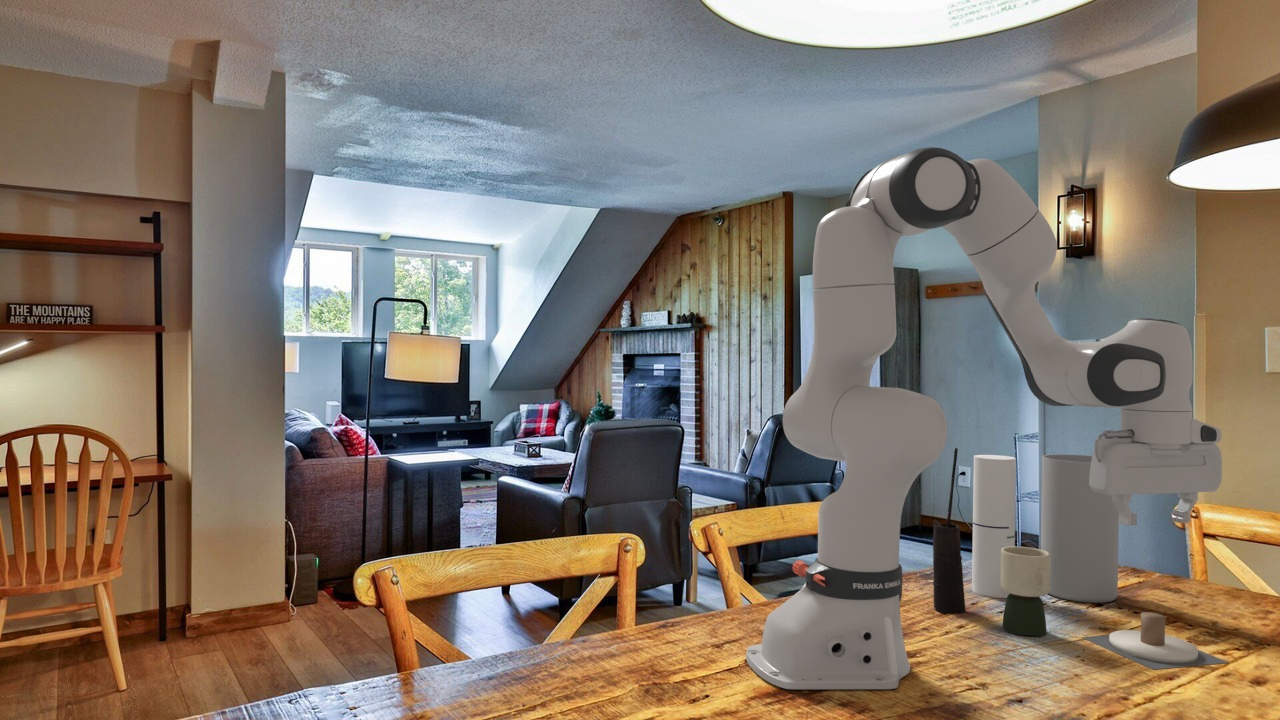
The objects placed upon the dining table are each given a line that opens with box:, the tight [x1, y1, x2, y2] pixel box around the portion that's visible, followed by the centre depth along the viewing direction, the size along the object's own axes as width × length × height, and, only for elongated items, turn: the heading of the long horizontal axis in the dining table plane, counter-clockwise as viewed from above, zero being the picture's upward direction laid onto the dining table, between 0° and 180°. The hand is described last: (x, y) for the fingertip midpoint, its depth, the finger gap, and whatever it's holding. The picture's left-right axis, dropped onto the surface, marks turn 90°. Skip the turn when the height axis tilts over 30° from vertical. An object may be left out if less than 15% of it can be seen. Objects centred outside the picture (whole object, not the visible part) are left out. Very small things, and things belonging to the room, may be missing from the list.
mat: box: [1080, 634, 1230, 671], centre depth 118 cm, size 13×13×1 cm
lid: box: [1108, 611, 1199, 663], centre depth 118 cm, size 11×11×5 cm
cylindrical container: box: [971, 454, 1017, 599], centre depth 149 cm, size 7×7×25 cm
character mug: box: [1001, 546, 1051, 637], centre depth 126 cm, size 11×7×13 cm, turn 10°
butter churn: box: [931, 447, 967, 615], centre depth 139 cm, size 9×10×28 cm
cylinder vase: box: [1040, 453, 1120, 604], centre depth 148 cm, size 12×12×25 cm
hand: (1154, 523), depth 118 cm, fingers open, 8 cm apart
